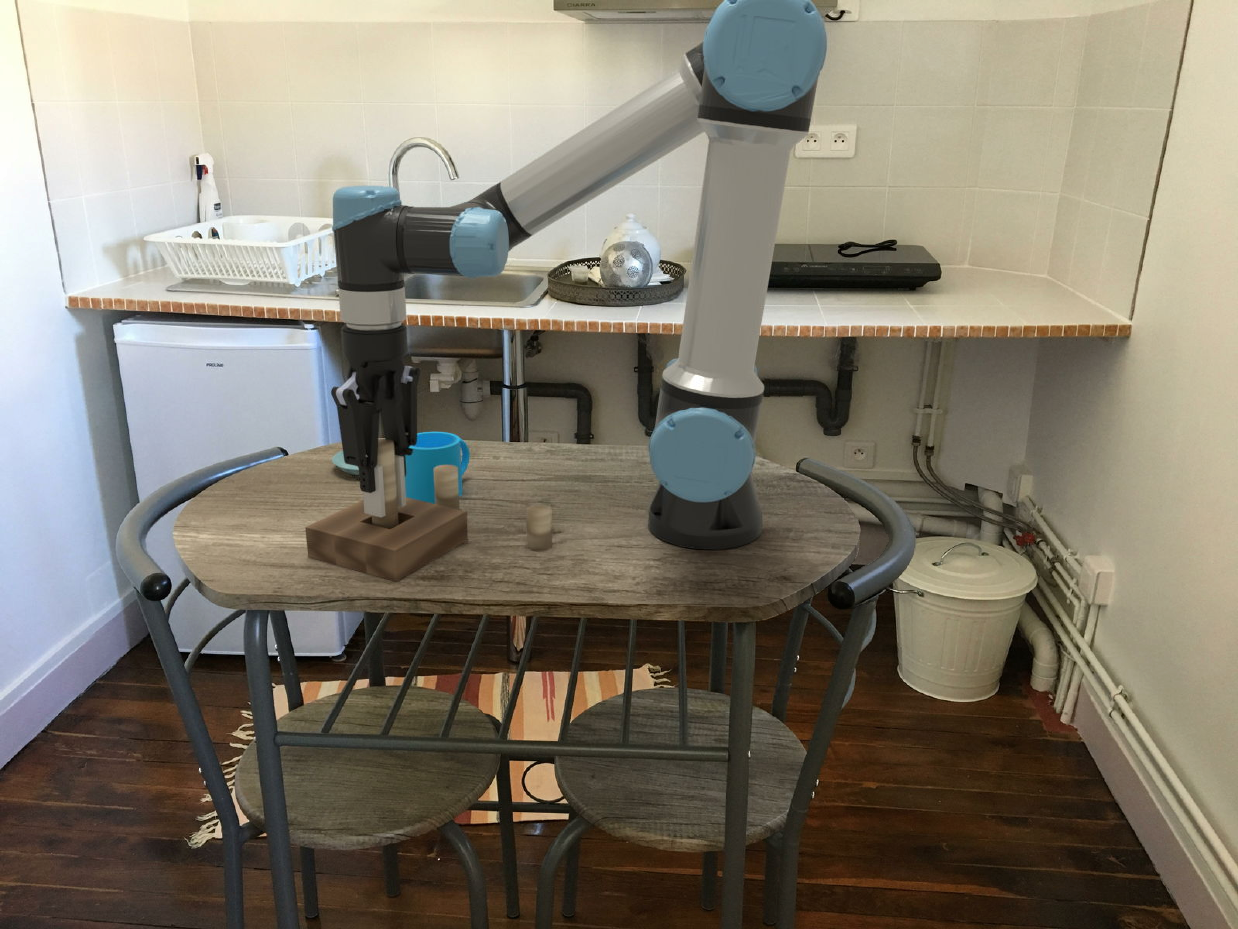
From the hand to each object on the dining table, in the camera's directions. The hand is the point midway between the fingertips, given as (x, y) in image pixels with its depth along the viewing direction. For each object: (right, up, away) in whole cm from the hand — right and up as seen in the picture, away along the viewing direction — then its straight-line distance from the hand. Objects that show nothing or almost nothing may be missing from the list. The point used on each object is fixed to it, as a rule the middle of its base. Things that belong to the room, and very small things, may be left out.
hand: (385, 508), depth 126 cm
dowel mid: (+6, -2, +12) cm, 13 cm away
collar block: (0, -5, +2) cm, 5 cm away
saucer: (-9, +5, +30) cm, 32 cm away
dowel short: (+19, -5, +3) cm, 20 cm away
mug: (+3, +2, +22) cm, 22 cm away
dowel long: (0, -5, +2) cm, 5 cm away
